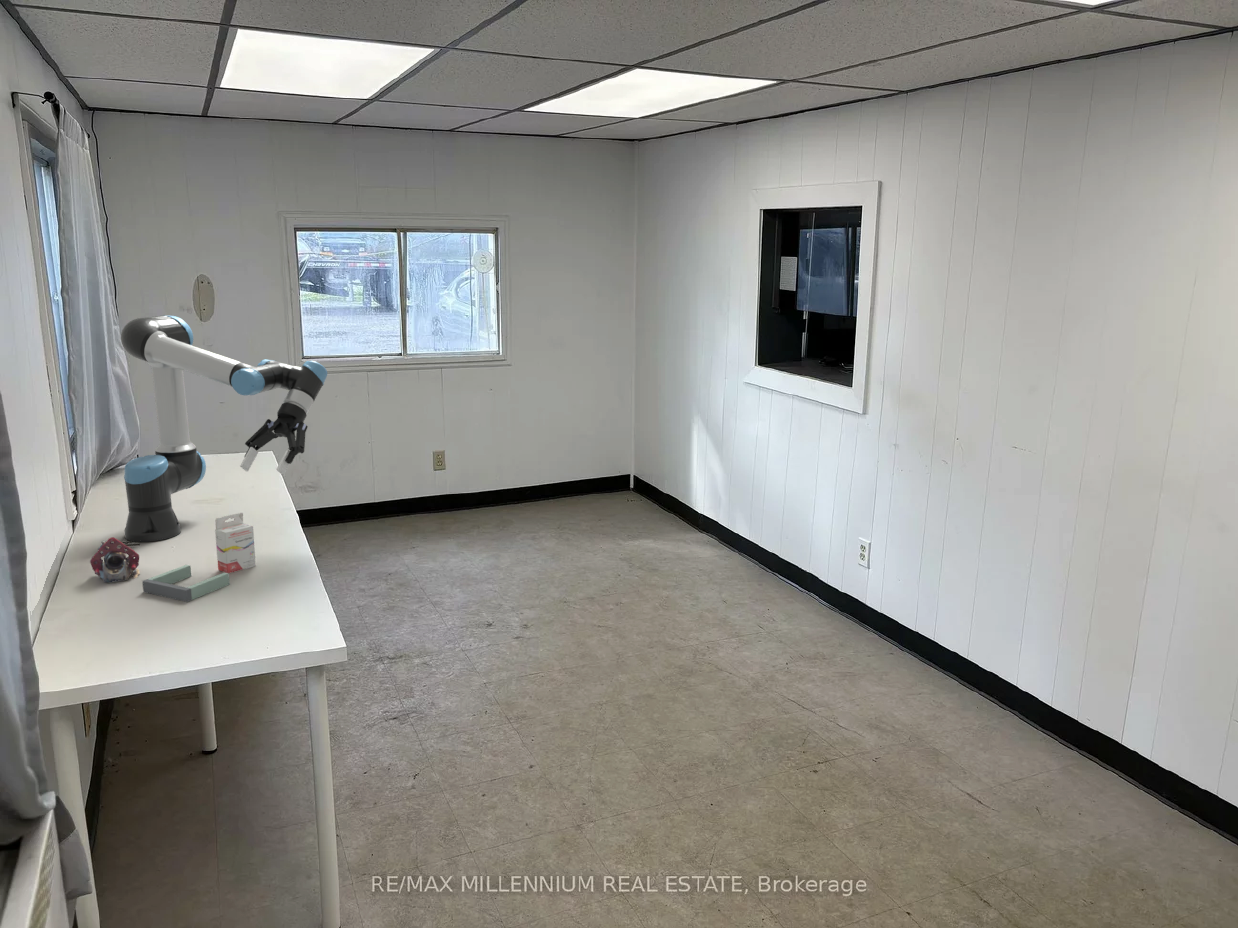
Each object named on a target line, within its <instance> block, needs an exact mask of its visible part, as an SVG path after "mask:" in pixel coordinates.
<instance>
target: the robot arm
mask: <svg viewBox="0 0 1238 928" xmlns="http://www.w3.org/2000/svg"><path fill="white" fill-rule="evenodd" d="M120 333H121V334H120V340H121V345H122V347H123V349H124V351H126V352H127V353H128V354H129V355H131V356H132V357H133V358H137V359H139V360H141V361H144V362H145V364H147V365H149V366H150V367H151V374H152V376H151V377H152V384H153V393H154V402H155V403H154V404H155V410H156V420H157V421H156V422H157V429H158V438H159V439H158V440H159V444H158V445H157V446H156V447H155V448H154V451H155V452H154V453H155V454H148V455H145V456H139V457H135V458H133V459H131V460H129V461H128V462H127V463H126V464H125V466H124V474H123V475H124V476H123V478H124V483H125V489H126V490H125V492H126V500H127V508H128V509H127V510H128V515H127V518H126V523H125V528H124V530H123V531H124V533H123V534H124V538H125V539H126V540H127V541H129V542H130V541H131V542H139V543H140V542H141V543H145V542H148V543H149V542H155V541H156V542H157V541H162V540H167V539H170V538H173V537H175V536H178V535H179V534H181V523H180V522H179V519H178V517H177V515H176V513H175V511H174V509H173V505H172V495H173V494H176V493H178V492H181V491H184V490H187V489H191V488H192V487H194V486H195V485H197V484H199V483H200V482H201V481H202V480H203V479H204V478H205V475H206V471H207V464H206V461H205V458H204V456H202V454H201V452H199V451H197V446H196V445H195V444H194V443H193V442H192V441H191V436H190V425H189V416H188V405H187V396H186V387H185V378H184V377H185V376H184V371H185V372H188V373H190V374H193V375H197V376H199V377H202V378H205V379H208V380H211V381H214V382H217V383H219V384H223V385H225V386H229V387H231V388H233V390H234V391H235V392H236V393H237V394H238V395H241V396H254V395H258V394H260V393H264V392H267V391H272V390H277V389H282V390H287V394H286V395H285V397H284V399H283V403H281V405H280V406H279V409H278V410H277V413H276V414H277V418H276V420H274V421H273V420H271V419H270V418H268V419H266V420H265V422H264V423H263V425H262V426H261V427H260V428H259V429H258V430H257V431H255V433H254V434H252V436H250V437H249V438H248V439H247V440H246V442H245V443H244V445H245V446H247V447H248V448H247V451H246V453H245V455H244V458H243V460H242V462H241V463H240V465H239V467H240V468H241V469H242V470H243V471H245V472H249V470H250V469H251V467H252V465H253V463H254V462H255V460H256V457H257V456H258V454H259V452H258V451H259V450H260V449H262V448H263V447H264V446H265V445H266V444H268V443H270V442H271V441H272V440H274V439H277V438H283V437H284V438H286V440H287V444H288V445H287V446H288V448H287V449H286V450H285V452H284V454H283V455H282V458H281V459H280V461H279V463H278V465H277V467H276V472H278V473H279V474H280V475H281V476H282V475H283V476H285V474H286V472H287V470H288V468H289V466H290V465H291V464H292V463H293V461H294V459H295V457H296V456H297V455H298V454H304V453H305V449H306V448H305V447H306V446H305V445H306V444H305V443H306V432H307V430H308V425H307V424H306V423H305V420H306V418H307V414H309V412H310V410H311V408H312V406H313V404H314V402H315V401H316V399H317V397H318V394H319V393H320V391H321V389H322V388H323V386H324V385H325V382H326V380H327V377H328V371H327V368H326V367H325V366H324V365H322V364H321V363H319V362H318V361H315V360H307V361H305V362H304V363H303V364H302V366H298V365H294V364H289V363H287V362H286V363H285V362H282V361H278V360H274V359H262V360H261V361H260V362H259V363H257V365H256V366H255V365H254V366H253V365H250V364H247V363H244V362H241V361H238V360H237V359H233V358H230V357H227V356H225V355H221V354H218V353H215V352H212V351H209V350H206V349H203V348H200V347H197V346H194V345H193V344H194V333H193V331H192V328H191V327H190V325H189V324H188V323H187V322H186V321H185V320H183V318H181V317H179V316H175V315H165V314H163V315H155V316H148V317H137V318H133V319H132V320H130V321H129V322H127V323H126V324H125V325H124V326H123V329H122V330H121V332H120Z"/></svg>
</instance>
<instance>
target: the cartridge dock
mask: <svg viewBox="0 0 1238 928" xmlns="http://www.w3.org/2000/svg"><path fill="white" fill-rule="evenodd" d="M191 567H192V566H191V565H190V564H185V565H182V566H179V567H176V568H173V569H171V570H169V571H166V572H162V573H160V574H157V575H155V576H153V577H149V578H147V579H144V580H142V590H143V593H145V594H150V595H154V596H155V595H156V596H160V597H163V598H168V599H173V600H175V601H176V600H178V601H182V602H186V603H188V602H190V601H193V600H195V599H197V598H199V597H202V596H204V595H207V594H210V593H212V592H214V591H216V590H219V589H222V588H224V587H226V586H228V585H230V573H225V572H221V573H220V574H217V575H215V576H211V577H210V578H207V579H205V580H201V581H199V582H197V583H194V584H192V585H190V586H182V585H177V584H175V583H178V582H180V581H182V580H185V579H188V578H191V577H192V571H191V570H192V569H191Z"/></svg>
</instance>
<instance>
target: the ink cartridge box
mask: <svg viewBox="0 0 1238 928" xmlns="http://www.w3.org/2000/svg"><path fill="white" fill-rule="evenodd" d="M229 519H231V520H230V521H228V520H229ZM232 519H233V520H232ZM214 532H215V546H216V556H217V557H216V558H217V569H218V571H221V573H224V572H225V573H229V574H231V573H235V572H238V571H239V572H240V571H243V570H247V569H249V568H253V567H256V552H255V550H256V549H255V537H254V536H255V535H254V525H252V524H249V523H245V522H244V513H243V512H238V513H234V514H230V515H229V514H228V515H226V516H225V515H224V516H221V517H216V518H215V530H214Z"/></svg>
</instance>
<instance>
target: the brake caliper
mask: <svg viewBox="0 0 1238 928" xmlns="http://www.w3.org/2000/svg"><path fill="white" fill-rule="evenodd" d="M119 546H120V547H119ZM127 555H128V556H127ZM102 558H103V559H102ZM89 563H90V566H91V568H92V570H93V572H94V575H96V576H98V577H99V578H100V579H102V580H103V582H104V583H107V584H108V583H109V584H110V583H114V582H123V581H125V582H126V581H127V580H129V578H130V576H131V575H132V576H131V578H132V579H133V580H134V579H137V578H139V576H140V574H141V573H140V569H139V568H138V567H139V565H140V555H139V554H138V553H137V551H135V550H134V549H132V548H131V547H130V546H128V545H126V544H124V543H123V542H122V541H121V540H119V539H117V538H115V537H109V538H108V539H107V540H106V541H105V540H102V541H101V544H100V545H99V546H98V547H97V552H95V554H94V555H93V556H92V557H91V559H90V561H89Z"/></svg>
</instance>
